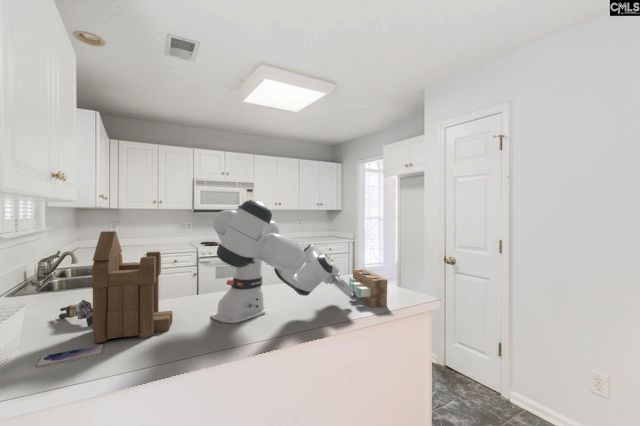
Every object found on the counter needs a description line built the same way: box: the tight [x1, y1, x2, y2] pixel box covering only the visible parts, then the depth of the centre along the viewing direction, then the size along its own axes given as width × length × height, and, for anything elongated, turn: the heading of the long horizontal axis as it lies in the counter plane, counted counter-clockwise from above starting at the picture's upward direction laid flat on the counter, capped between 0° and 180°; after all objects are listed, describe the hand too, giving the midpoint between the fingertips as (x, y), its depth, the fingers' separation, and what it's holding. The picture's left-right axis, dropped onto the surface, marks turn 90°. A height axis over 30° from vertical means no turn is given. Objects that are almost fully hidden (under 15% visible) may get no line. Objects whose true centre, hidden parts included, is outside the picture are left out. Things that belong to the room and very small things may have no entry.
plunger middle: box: [348, 281, 364, 294], centre depth 147 cm, size 9×4×4 cm, turn 106°
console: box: [352, 268, 388, 308], centre depth 148 cm, size 7×24×13 cm, turn 16°
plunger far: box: [348, 277, 358, 283], centre depth 155 cm, size 9×4×4 cm, turn 106°
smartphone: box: [34, 344, 105, 369], centre depth 88 cm, size 7×1×15 cm
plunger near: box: [355, 286, 371, 299], centre depth 139 cm, size 9×4×4 cm, turn 106°
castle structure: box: [91, 230, 174, 344], centre depth 111 cm, size 27×22×35 cm
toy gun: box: [58, 299, 93, 328], centre depth 112 cm, size 3×21×10 cm, turn 68°
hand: (349, 294), depth 136 cm, fingers closed
